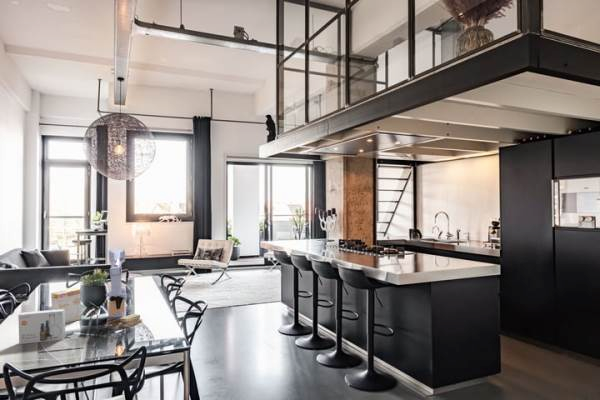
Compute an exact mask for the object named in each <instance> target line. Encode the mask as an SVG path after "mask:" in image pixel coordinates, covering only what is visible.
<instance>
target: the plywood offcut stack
mask: <svg viewBox="0 0 600 400" xmlns="http://www.w3.org/2000/svg"><path fill="white" fill-rule="evenodd" d="M119 318H120V321H121V323H119V326H123V327H122V328H131V327H130V326H132V325H134V326H136V325H135V324H137V323H139V324H141V323H140V322H142V323H143V320H142V319H140V318H141V315H140V314H134V313H133V314H129V315H126V316H124V317H123V316H122V317H119ZM137 325H138V324H137ZM132 327H133V326H132Z"/></svg>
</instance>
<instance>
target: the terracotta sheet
mask: <svg viewBox="0 0 600 400" xmlns="http://www.w3.org/2000/svg"><path fill="white" fill-rule="evenodd" d="M108 307H109V315H110V316H113V315H115V314H118V313H121V312H124V313H125V302H124V299H123V301H122V303H121V307H120V309H117V307H116V301H115V300H114V301H111V302H110V301H109V302H108ZM110 316H109V317H110Z"/></svg>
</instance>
